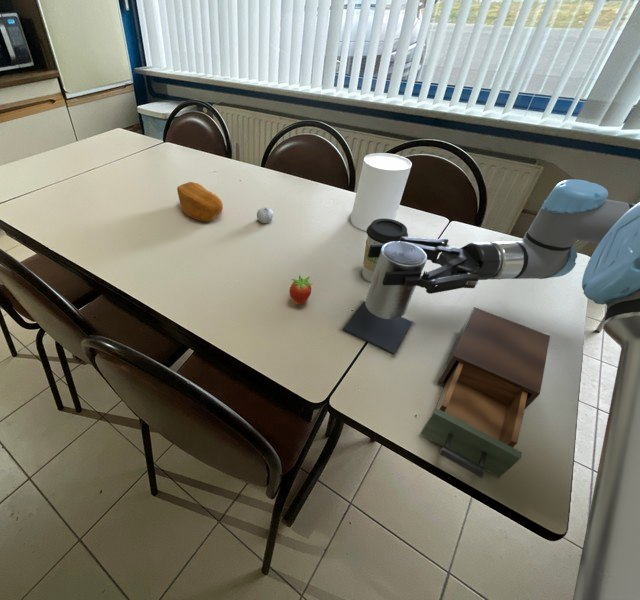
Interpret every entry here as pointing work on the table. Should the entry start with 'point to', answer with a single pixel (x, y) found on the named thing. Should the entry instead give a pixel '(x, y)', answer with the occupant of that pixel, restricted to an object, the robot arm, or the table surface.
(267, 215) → the garlic
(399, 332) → the mat
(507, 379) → the cabinet
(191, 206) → the bread
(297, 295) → the fruit
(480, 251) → the robot arm
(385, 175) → the canister
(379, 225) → the coffee cup
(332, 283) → the table surface
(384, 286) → the silver cylinder
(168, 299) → the table surface
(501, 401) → the drawer
